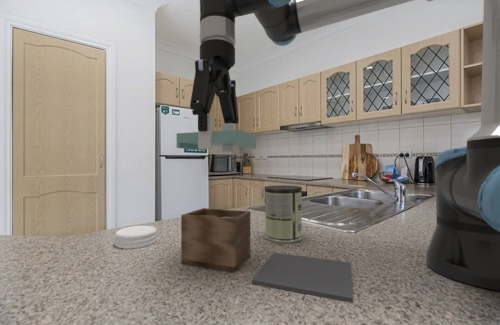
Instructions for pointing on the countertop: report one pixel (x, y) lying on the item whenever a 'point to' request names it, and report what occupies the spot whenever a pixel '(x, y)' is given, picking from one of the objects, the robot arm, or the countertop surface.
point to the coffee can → (283, 213)
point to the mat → (307, 276)
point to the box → (215, 239)
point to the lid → (218, 139)
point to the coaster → (135, 237)
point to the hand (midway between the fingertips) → (217, 150)
